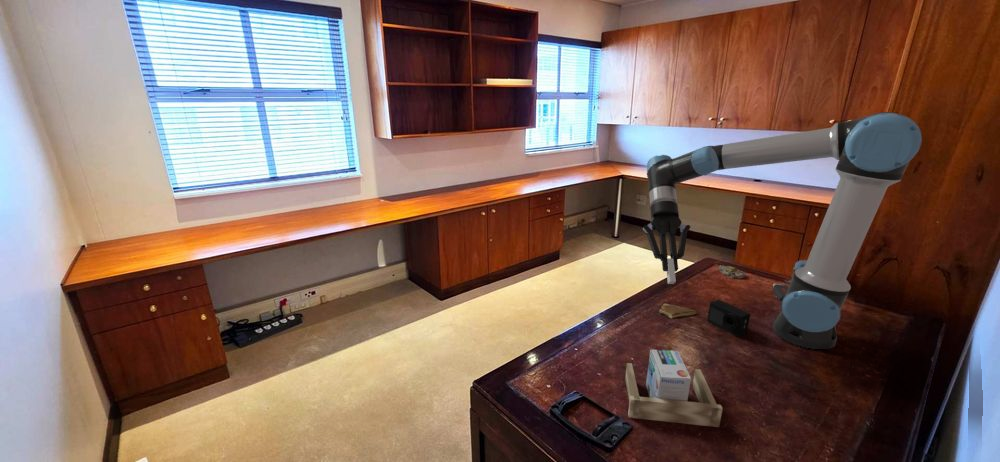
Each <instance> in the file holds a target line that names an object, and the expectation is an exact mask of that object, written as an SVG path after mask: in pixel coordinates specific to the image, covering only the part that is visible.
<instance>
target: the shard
mask: <svg viewBox="0 0 1000 462" xmlns="http://www.w3.org/2000/svg"><path fill="white" fill-rule="evenodd" d="M698 312H699V310H694V309H689V308H687V307H683V306H678V305H674V304H669V303H663V304H662V305H661V308H659V313H660V314H663V315H665V316H667V317H668V318H670V319H673V318H678V317H679V318H680V317H687V316H693V315H696V314H697V313H698Z"/></svg>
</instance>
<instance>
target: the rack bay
mask: <svg viewBox="0 0 1000 462" xmlns="http://www.w3.org/2000/svg"><path fill="white" fill-rule="evenodd" d="M693 375H694V376H693V379H692V381H693V382H692V385H691V386H692V388H693V391H694V393H695V395H696V398H697V400H698V402H696V401H688V400H687V401H678V400H668V399H658V398H650V397H649V396H640V394H639V388H638V385H637V382H636V381H637V380H636V375H635V372H634V367H633V363H631V362H626V369H625V376H624V377H625V378H624V381H625V385H626V386H625V387H626V390H627V396H628V401H629V402H628V411H627V415H628V418H631V419H639V420H648V421H649V420H650V421H659V422H667V423H676V424H677V423H678V424H684V425H685V424H686V425H693V426H694V425H695V426H703V427H705V426H706V427H712V428H719V427H720V424H721V418H722V414H723V406H722V405H721V404H717V402H716V399H715V398H714V395H713V393H712V392H711V389H710V387H709V385H708V382H707V380H706V379H705V376H704V374H703V372H702V369H700V368H699V369H698V368H695V369H694V374H693Z"/></svg>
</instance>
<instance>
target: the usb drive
mask: <svg viewBox="0 0 1000 462" xmlns="http://www.w3.org/2000/svg"><path fill="white" fill-rule="evenodd" d="M788 287H789V286H787V285H785V284H779V283H773V286H772V290H773V291H772V293H773V292H774V293H775V295H776V296H777V298H778V300H779V301H783V299H784V297H785V295H786V293H787V290H788ZM774 293H773V294H774ZM775 295H774V296H775ZM776 296H775V297H776ZM777 298H776V299H777ZM778 300H777V301H778ZM779 301H778V302H779Z"/></svg>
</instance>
